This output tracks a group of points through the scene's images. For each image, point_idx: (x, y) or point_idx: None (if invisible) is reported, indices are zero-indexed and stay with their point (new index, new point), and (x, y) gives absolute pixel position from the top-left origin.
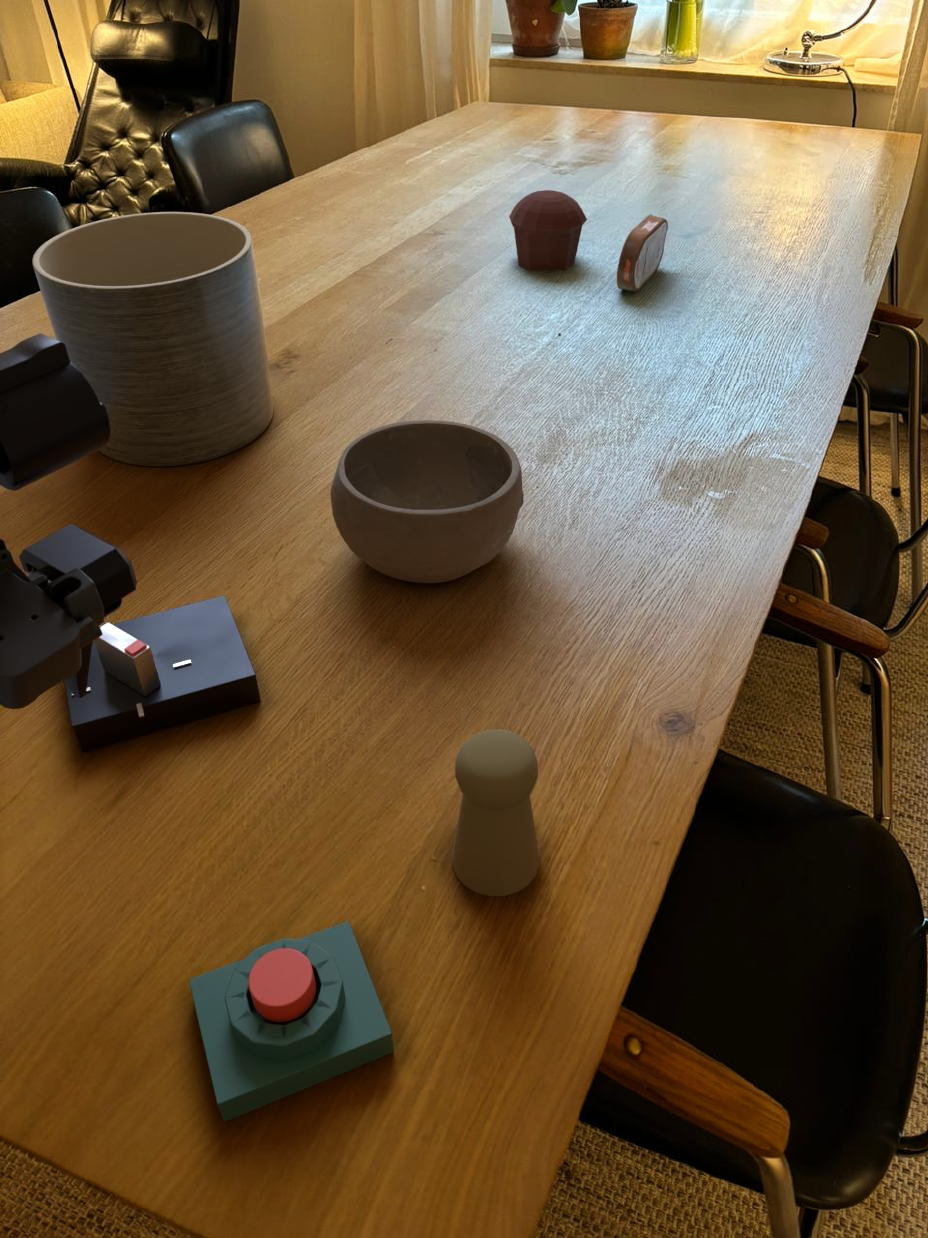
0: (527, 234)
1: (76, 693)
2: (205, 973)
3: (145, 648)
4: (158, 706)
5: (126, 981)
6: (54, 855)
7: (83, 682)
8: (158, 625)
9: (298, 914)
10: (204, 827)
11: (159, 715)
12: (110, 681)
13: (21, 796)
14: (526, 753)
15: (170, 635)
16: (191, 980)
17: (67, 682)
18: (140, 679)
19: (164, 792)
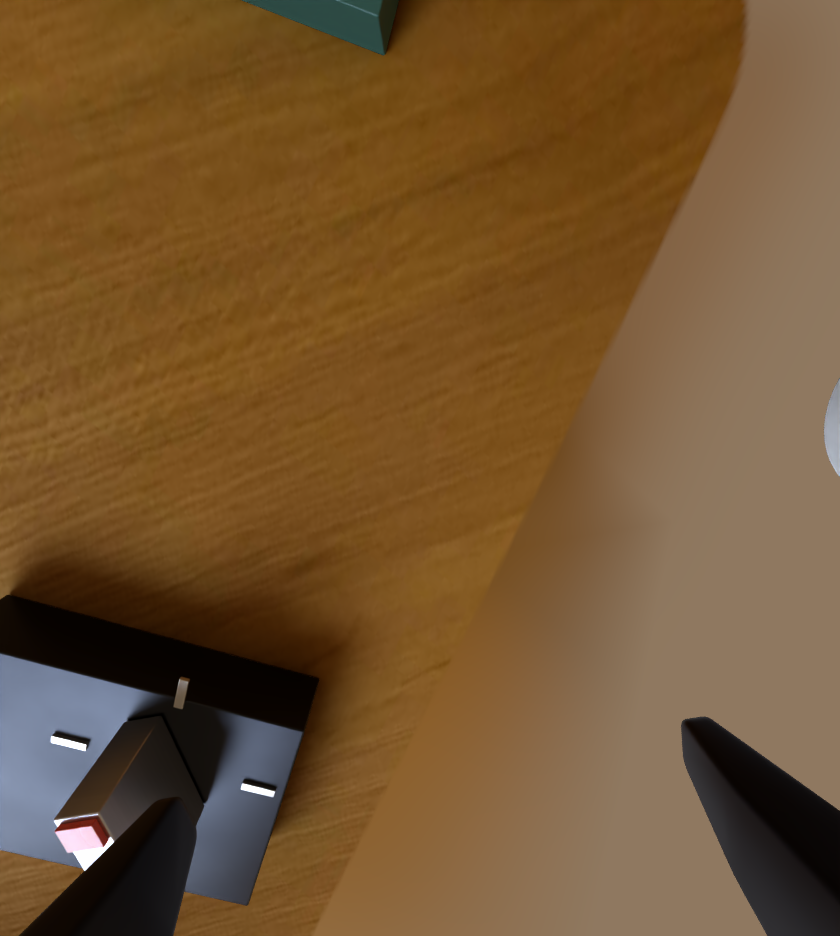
0: None
1: (175, 824)
2: (342, 2)
3: (64, 822)
4: (153, 682)
5: (466, 196)
6: (442, 526)
7: (107, 864)
8: None
9: (133, 87)
10: (208, 410)
11: (167, 667)
12: (204, 780)
13: (432, 661)
14: None
15: None
16: (374, 6)
17: (172, 888)
18: (135, 754)
19: (238, 525)
